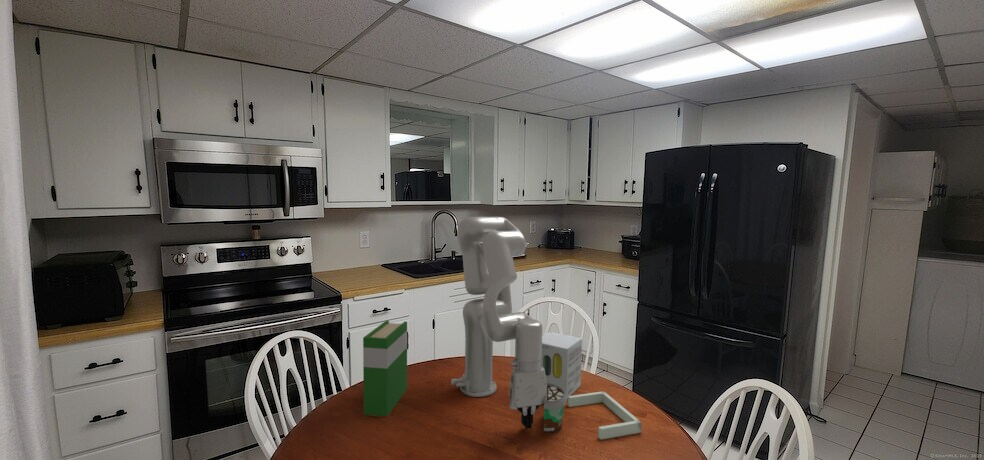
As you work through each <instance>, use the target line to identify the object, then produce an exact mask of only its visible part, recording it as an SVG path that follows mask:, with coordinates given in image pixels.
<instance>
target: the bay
mask: <svg viewBox="0 0 984 460" xmlns="http://www.w3.org/2000/svg"><path fill="white" fill-rule="evenodd" d="M599 403H603V404H604V406H606V407H607V408H608V409H610V411H612V412H613V413H614V414H615V415H616V416H618V417H619V418H620V419H621V420H622V421H623V422H619V423H615V424H614V423H613V424H609V425H608V424H607V425H601V426H598V432H597V434H598V435H597V438H598V439H599V440H606V439H607V440H608V439H613V438H618V437H623V436H630V435H634V434H641V433H642V425H643V423H642V421H640V419H638V418H637V417H636V416H634V415H633V414H632V413H631V412H630V411H629V410H627V409H626V408H625V407H624V406H623V405H621V404H620V403H618V402H617V400H615V399H614V398H613V397H611V395H609V394H608V393H607V392H605V391H597V392H588V393H581V394H574V395H573V394H572V395H571V396H568V399H567V406H568V407H569V408H572V407H580V406H586V405H592V404H594V405H595V404H599Z"/></svg>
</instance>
